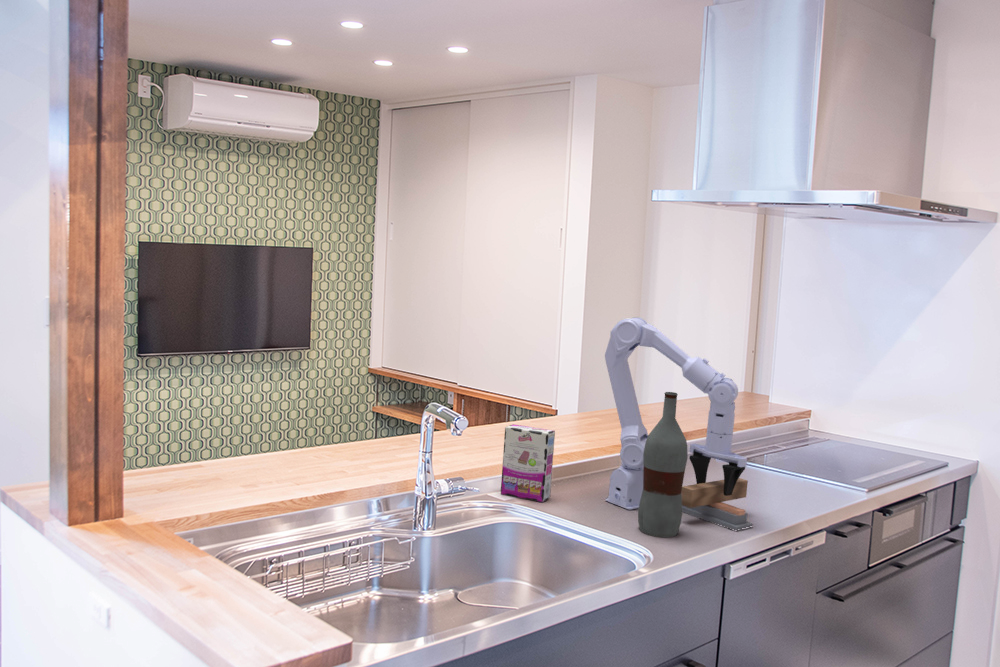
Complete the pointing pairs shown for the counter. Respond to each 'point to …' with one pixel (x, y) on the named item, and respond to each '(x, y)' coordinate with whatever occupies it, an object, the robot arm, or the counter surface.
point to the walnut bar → (711, 493)
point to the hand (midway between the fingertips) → (714, 490)
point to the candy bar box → (527, 462)
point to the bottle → (663, 474)
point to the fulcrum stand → (720, 515)
